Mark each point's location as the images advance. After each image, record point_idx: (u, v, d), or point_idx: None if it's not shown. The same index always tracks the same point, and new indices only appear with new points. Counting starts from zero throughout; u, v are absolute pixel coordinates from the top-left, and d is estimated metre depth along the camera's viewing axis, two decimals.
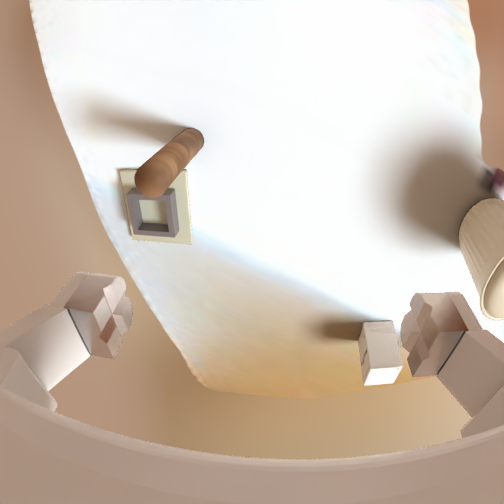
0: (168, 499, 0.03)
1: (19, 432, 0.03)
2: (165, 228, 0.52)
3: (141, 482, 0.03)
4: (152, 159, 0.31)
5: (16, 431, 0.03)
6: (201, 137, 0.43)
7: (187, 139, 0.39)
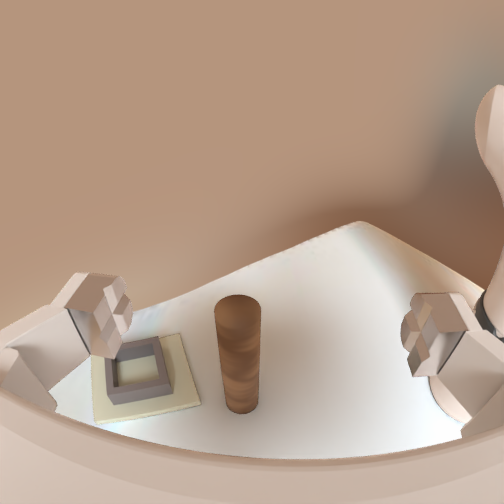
0: (168, 499, 0.03)
1: (20, 432, 0.03)
2: (115, 385, 0.33)
3: (141, 482, 0.03)
4: None
5: (16, 431, 0.03)
6: (252, 407, 0.33)
7: (258, 381, 0.32)
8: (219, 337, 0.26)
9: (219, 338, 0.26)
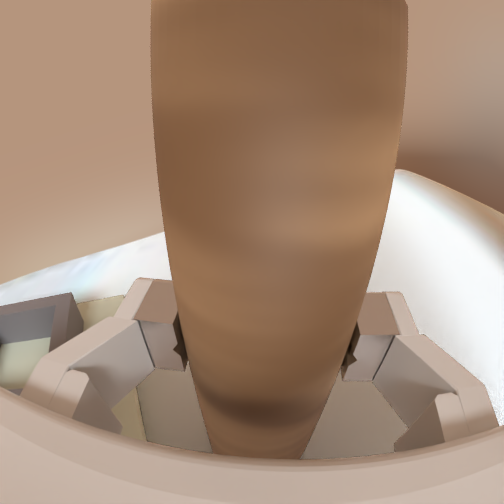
0: (168, 499, 0.03)
1: (20, 432, 0.03)
2: None
3: (141, 482, 0.03)
4: None
5: (16, 431, 0.03)
6: None
7: None
8: (161, 148, 0.04)
9: (162, 160, 0.04)
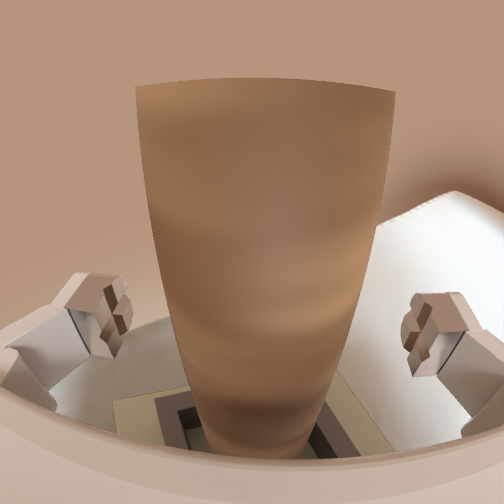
0: (168, 499, 0.03)
1: (19, 432, 0.03)
2: None
3: (141, 482, 0.03)
4: None
5: (16, 431, 0.03)
6: None
7: None
8: (158, 244, 0.05)
9: (160, 252, 0.05)
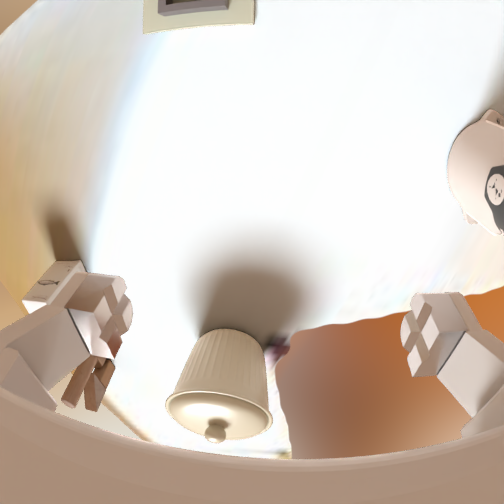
0: (168, 499, 0.03)
1: (20, 432, 0.03)
2: None
3: (141, 482, 0.03)
4: None
5: (16, 431, 0.03)
6: None
7: None
8: None
9: None
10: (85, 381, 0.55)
